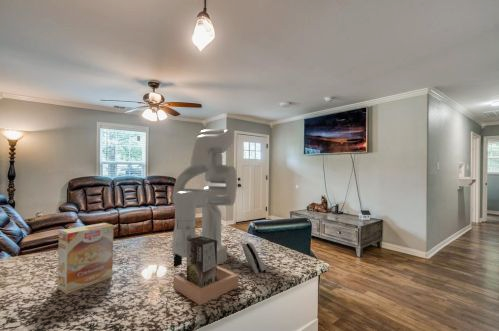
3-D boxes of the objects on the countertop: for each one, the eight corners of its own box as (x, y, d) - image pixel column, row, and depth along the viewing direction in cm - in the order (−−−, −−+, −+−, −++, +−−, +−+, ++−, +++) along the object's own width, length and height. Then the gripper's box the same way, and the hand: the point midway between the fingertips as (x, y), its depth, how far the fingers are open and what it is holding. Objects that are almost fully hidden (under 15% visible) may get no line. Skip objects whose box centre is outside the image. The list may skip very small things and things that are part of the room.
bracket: (173, 288, 83) (173, 276, 83) (211, 273, 95) (211, 263, 95) (199, 305, 73) (200, 291, 73) (238, 286, 84) (238, 274, 84)
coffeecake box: (66, 294, 78) (67, 233, 78) (56, 288, 82) (57, 230, 82) (113, 277, 91) (114, 224, 91) (103, 272, 95) (104, 222, 95)
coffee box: (217, 288, 83) (218, 240, 83) (202, 295, 78) (203, 244, 78) (200, 280, 89) (201, 235, 89) (185, 286, 84) (186, 239, 84)
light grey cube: (216, 265, 103) (216, 250, 104) (207, 261, 107) (207, 247, 108) (226, 261, 108) (226, 247, 108) (217, 257, 112) (217, 244, 112)
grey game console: (268, 272, 96) (260, 248, 96) (257, 277, 95) (248, 253, 94) (256, 257, 112) (249, 237, 112) (247, 261, 111) (240, 241, 111)
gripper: (164, 221, 96) (164, 265, 96) (189, 229, 84) (188, 279, 84) (181, 219, 102) (181, 260, 101) (207, 226, 90) (206, 273, 89)
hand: (184, 269), depth 93 cm, fingers open, 9 cm apart
